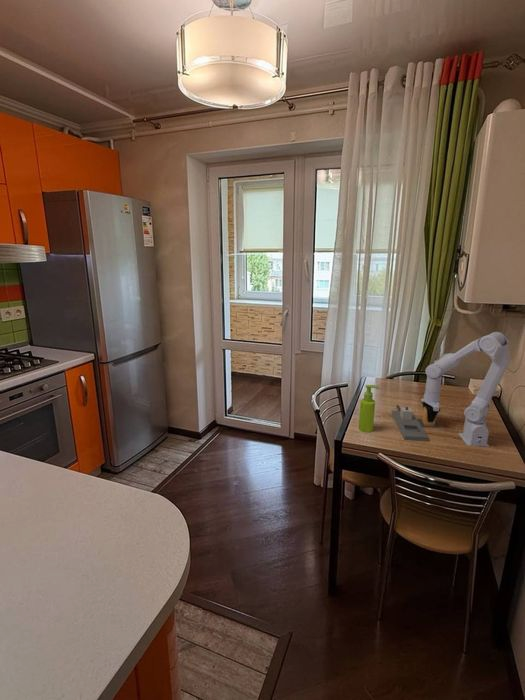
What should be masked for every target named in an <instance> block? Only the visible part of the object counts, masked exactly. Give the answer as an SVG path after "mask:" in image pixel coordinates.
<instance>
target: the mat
mask: <svg viewBox="0 0 525 700" xmlns="http://www.w3.org/2000/svg"><path fill="white" fill-rule="evenodd" d="M416 419H417V420H418V422H419V423H420V425H421V427H422V428H428V429H429V428H431V429H441V428H442V427H441V426H440V425H439V424H438V422H437V420H435V426H429V425H424V423H423V421H422V419H423V418H416Z"/></svg>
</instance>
